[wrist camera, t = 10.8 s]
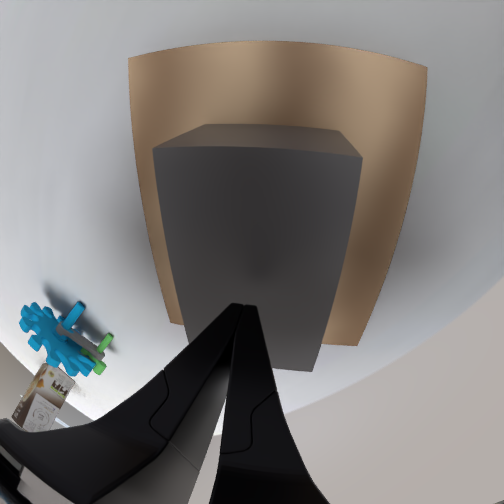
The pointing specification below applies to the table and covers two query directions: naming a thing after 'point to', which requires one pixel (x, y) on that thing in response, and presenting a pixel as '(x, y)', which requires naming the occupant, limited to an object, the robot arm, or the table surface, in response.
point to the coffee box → (43, 399)
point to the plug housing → (259, 227)
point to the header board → (292, 114)
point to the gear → (63, 340)
